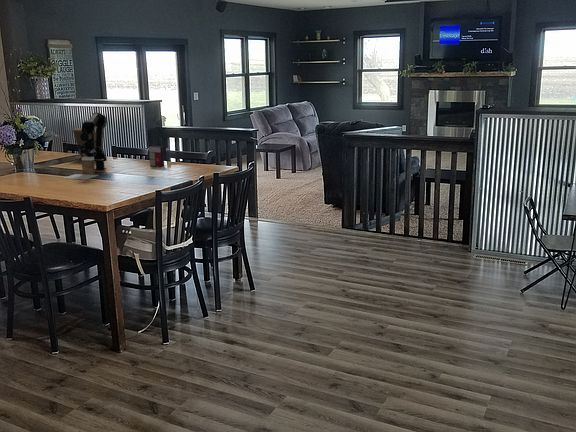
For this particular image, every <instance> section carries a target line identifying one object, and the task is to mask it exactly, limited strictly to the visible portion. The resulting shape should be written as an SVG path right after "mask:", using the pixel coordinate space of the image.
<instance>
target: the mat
mask: <svg viewBox="0 0 576 432" xmlns="http://www.w3.org/2000/svg"><path fill="white" fill-rule="evenodd" d="M98 176H100V175H99V174H94V175H88V174H83V173H82V174H80V173H78V174H77V173H74V174H71V175H68V176H64V177H61V179H62V180H64V179H65V180H85V181H87V180H89V179H93V178H95V177H98Z"/></svg>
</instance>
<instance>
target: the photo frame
mask: <svg viewBox="0 0 576 432" xmlns="http://www.w3.org/2000/svg"><path fill="white" fill-rule="evenodd" d="M81 130H82V127H81V128H79V127H76V128H74V129H72V133H73V135H74V139H75V142H76V145H77V146H78V144H81V145H82V144H84V142H85V141H82V140H81V138H80V136H81V134H82V133H83V132H81ZM96 131H97V130H96V129H95V130H94V141H96ZM95 146H96V142H95ZM77 149H78V148H77ZM78 153H79V156H80V158H81V157H88V155H87V154H85V153H80V150H79V149H78Z"/></svg>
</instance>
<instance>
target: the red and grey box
mask: <svg viewBox="0 0 576 432" xmlns="http://www.w3.org/2000/svg"><path fill="white" fill-rule="evenodd" d="M148 152H149V166H150V167H153V166H154V167H156V168H159V167H160V168H163V166H164V167H165V157H164V155H165V154H164V152H165V147H164V145H163V146H161V145H160V146H159V145H149V146H148Z"/></svg>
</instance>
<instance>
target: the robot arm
mask: <svg viewBox="0 0 576 432" xmlns="http://www.w3.org/2000/svg"><path fill="white" fill-rule="evenodd" d="M107 123H108V119H107V116H106V115H104V114H101V112H93V113H92V114H91V116H90V118H89V119H88V120H87V119H86V120H84V121H83V123H82V126H81V128H82V130H81V132H83V133H82V134H81V136H80V138H81V140H82V141H85V142H84V144H82V145H81V144H78V146H77V149H79V150H80V153H85V154H87V155H88V157H94V162H95V171H104V170H107V167H105V162H107V160H108V159H107V155H106V154H105V151H104V148H103V143H104V141H103V139H104V129H105V128H106V126H107ZM94 130H95V131H96V141H94ZM95 142H96V146H95ZM79 150H78V151H79ZM80 153H79V154H80Z"/></svg>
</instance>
